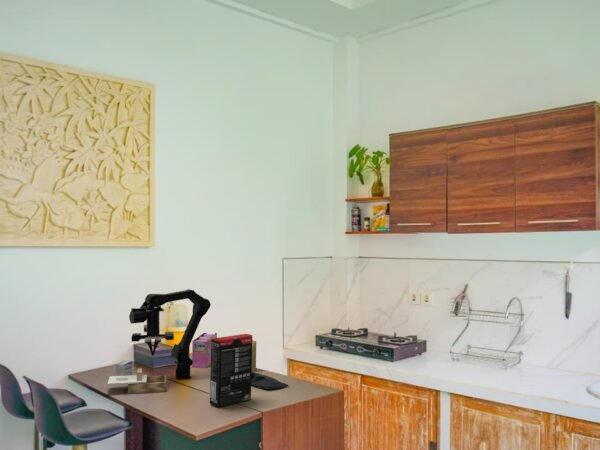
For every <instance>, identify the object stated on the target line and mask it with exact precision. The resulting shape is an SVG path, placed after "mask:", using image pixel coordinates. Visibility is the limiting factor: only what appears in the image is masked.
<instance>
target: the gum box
mask: <svg viewBox="0 0 600 450" xmlns="http://www.w3.org/2000/svg"><path fill="white" fill-rule="evenodd" d="M213 338H218V333H217V332H214V333H207V332H203V333H202V334H200V335H198V337H196V338H195V339H192V341H191V343H192V347H191V348H192V351H191V360H192V361H193V363H192V365H191V368H201V369H202V368H203V369H205V368H208V367H209V366H211V339H213Z"/></svg>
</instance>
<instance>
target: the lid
mask: <svg viewBox="0 0 600 450" xmlns="http://www.w3.org/2000/svg"><path fill="white" fill-rule="evenodd" d="M147 376H148V374H143V367H139V368H137V369H136V374H133V375H127V376H116V375H110V376H109V378H108V381H107V386H114V385H118V386H119V385H128V384H136V383H146V381H147Z"/></svg>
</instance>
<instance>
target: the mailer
mask: <svg viewBox="0 0 600 450" xmlns="http://www.w3.org/2000/svg"><path fill="white" fill-rule="evenodd" d="M151 392H152V393H164V392H165V393H166V392H167V375H150V376H149V375H147V381H146V383H136V384H127V394H128V395H131V394H134V395H136V394H151Z"/></svg>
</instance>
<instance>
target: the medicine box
mask: <svg viewBox="0 0 600 450" xmlns="http://www.w3.org/2000/svg"><path fill="white" fill-rule="evenodd" d="M133 368H134V367H133V360H128V359H127V360H123V361H120V362H117V363H116V364H115V376H127V375H134V374H133V372H134V371H133Z"/></svg>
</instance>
